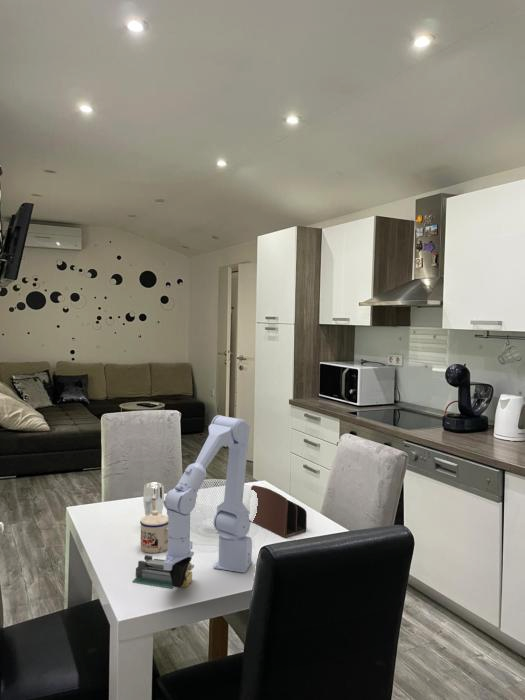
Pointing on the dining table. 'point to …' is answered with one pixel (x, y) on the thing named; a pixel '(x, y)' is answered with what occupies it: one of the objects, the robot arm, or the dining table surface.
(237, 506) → the robot arm
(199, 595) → the dining table surface
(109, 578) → the dining table surface
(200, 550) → the dining table surface
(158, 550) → the teacup with lid
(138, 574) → the grey forked bracket
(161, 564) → the grey long flat bar
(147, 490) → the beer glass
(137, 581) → the block
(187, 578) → the clip
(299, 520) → the letter holder
